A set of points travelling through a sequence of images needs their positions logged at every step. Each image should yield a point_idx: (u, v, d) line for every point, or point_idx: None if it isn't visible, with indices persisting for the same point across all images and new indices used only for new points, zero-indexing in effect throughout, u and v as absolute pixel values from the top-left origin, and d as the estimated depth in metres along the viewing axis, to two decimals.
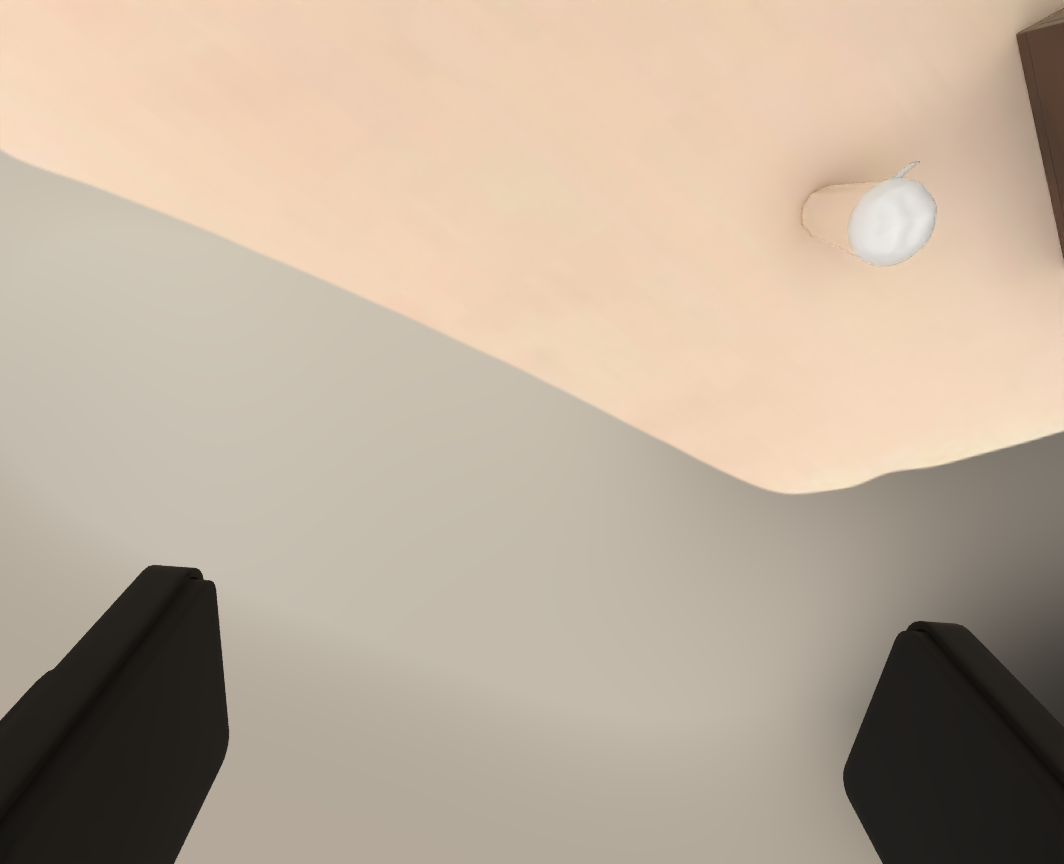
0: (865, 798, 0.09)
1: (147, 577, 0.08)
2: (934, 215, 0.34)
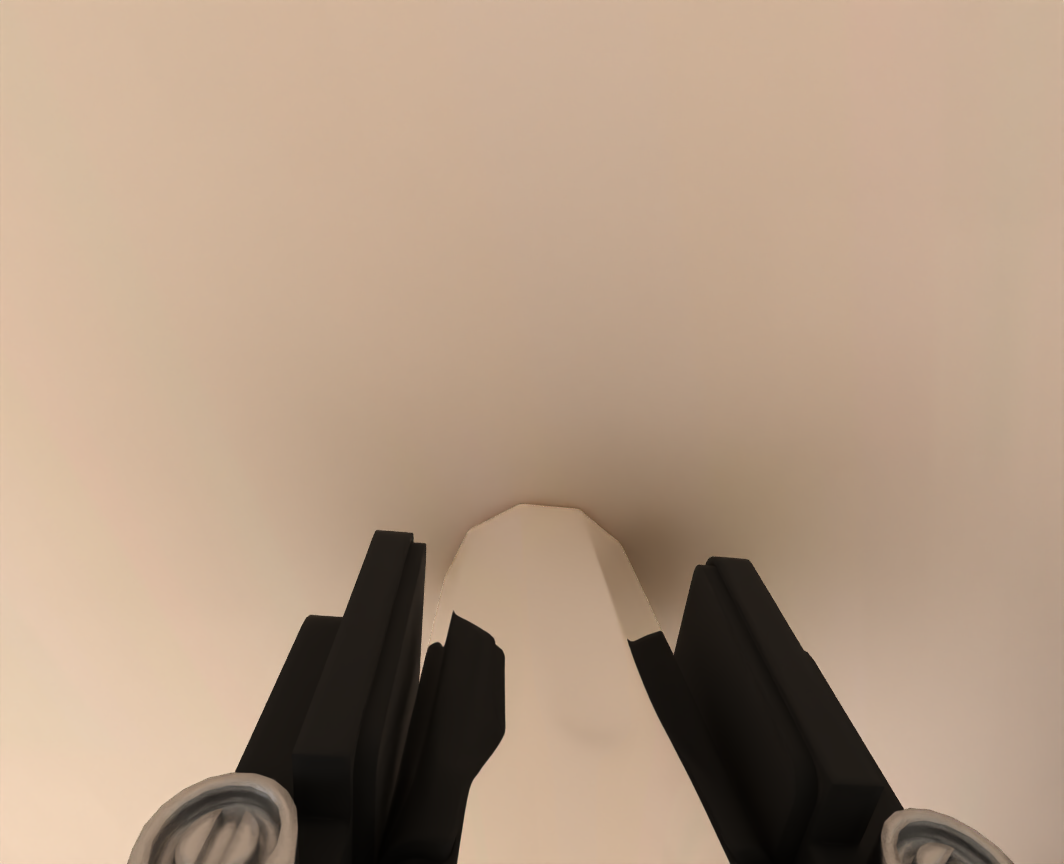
0: None
1: (380, 539, 0.09)
2: None
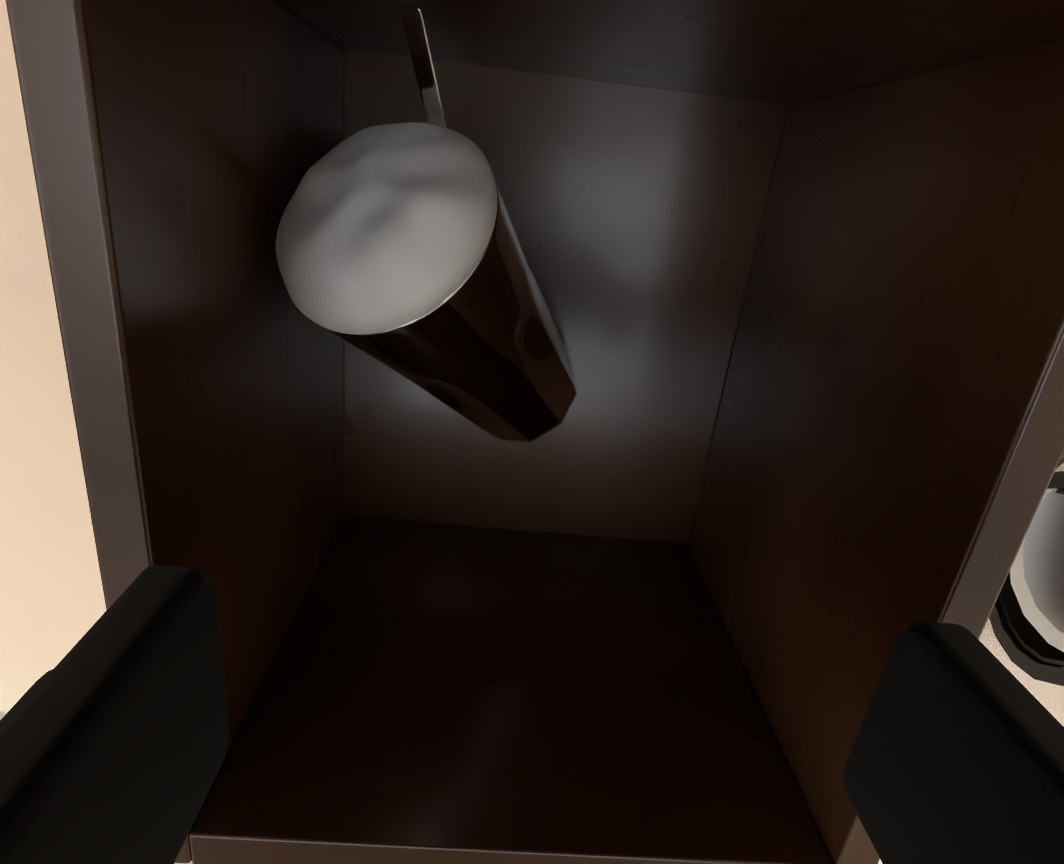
0: (865, 798, 0.09)
1: (147, 577, 0.08)
2: (441, 207, 0.11)
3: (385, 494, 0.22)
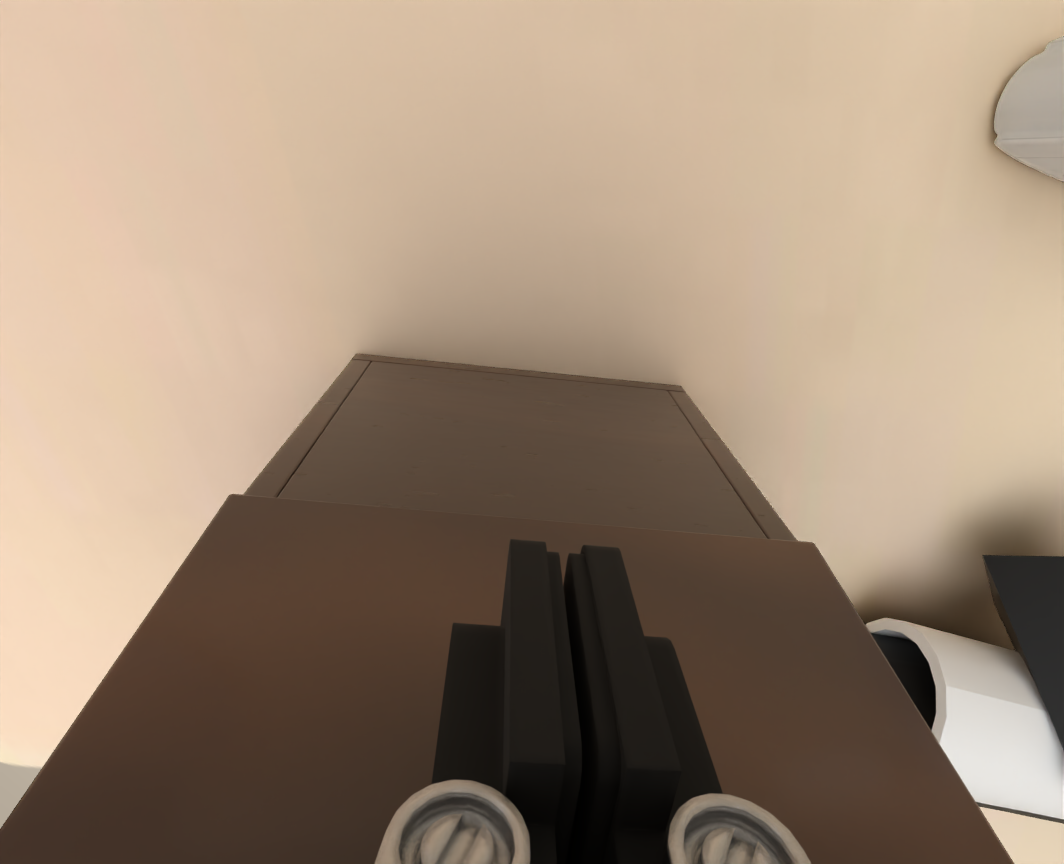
0: None
1: (518, 548, 0.09)
2: None
3: None
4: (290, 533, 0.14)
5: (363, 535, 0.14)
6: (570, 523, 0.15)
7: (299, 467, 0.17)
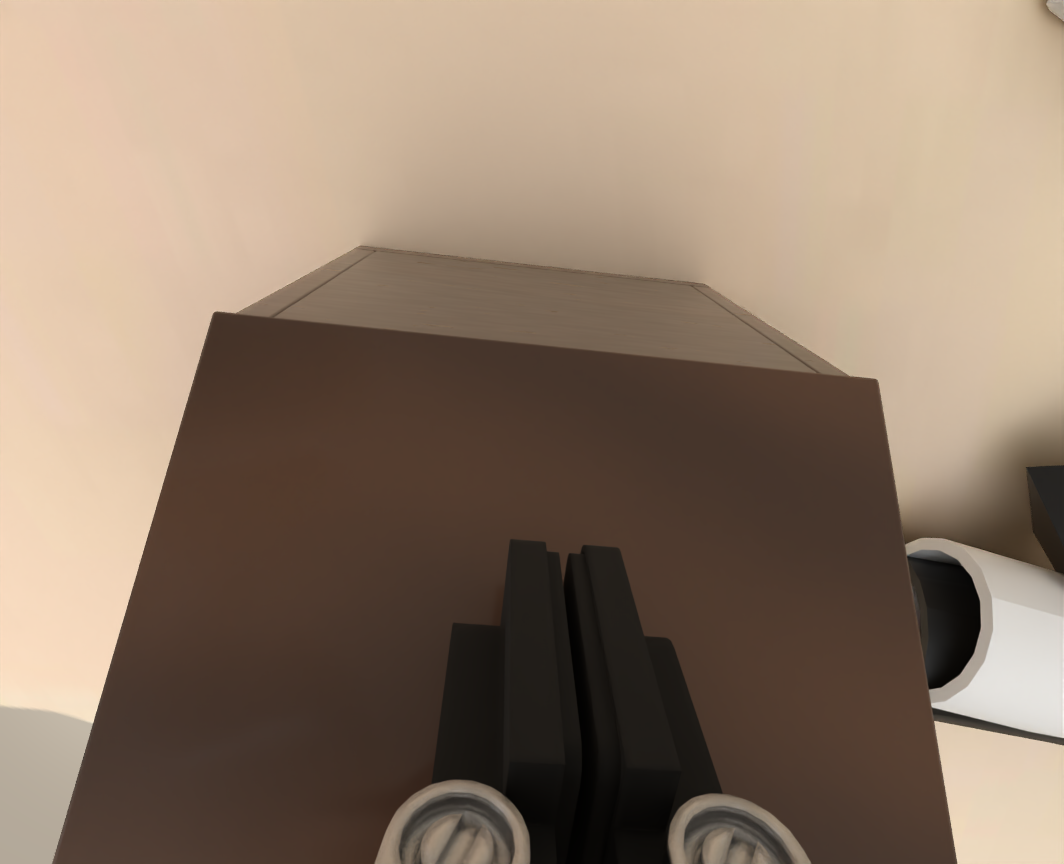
0: None
1: (517, 548, 0.09)
2: None
3: None
4: (289, 375, 0.12)
5: (369, 377, 0.12)
6: (601, 354, 0.13)
7: (296, 303, 0.15)
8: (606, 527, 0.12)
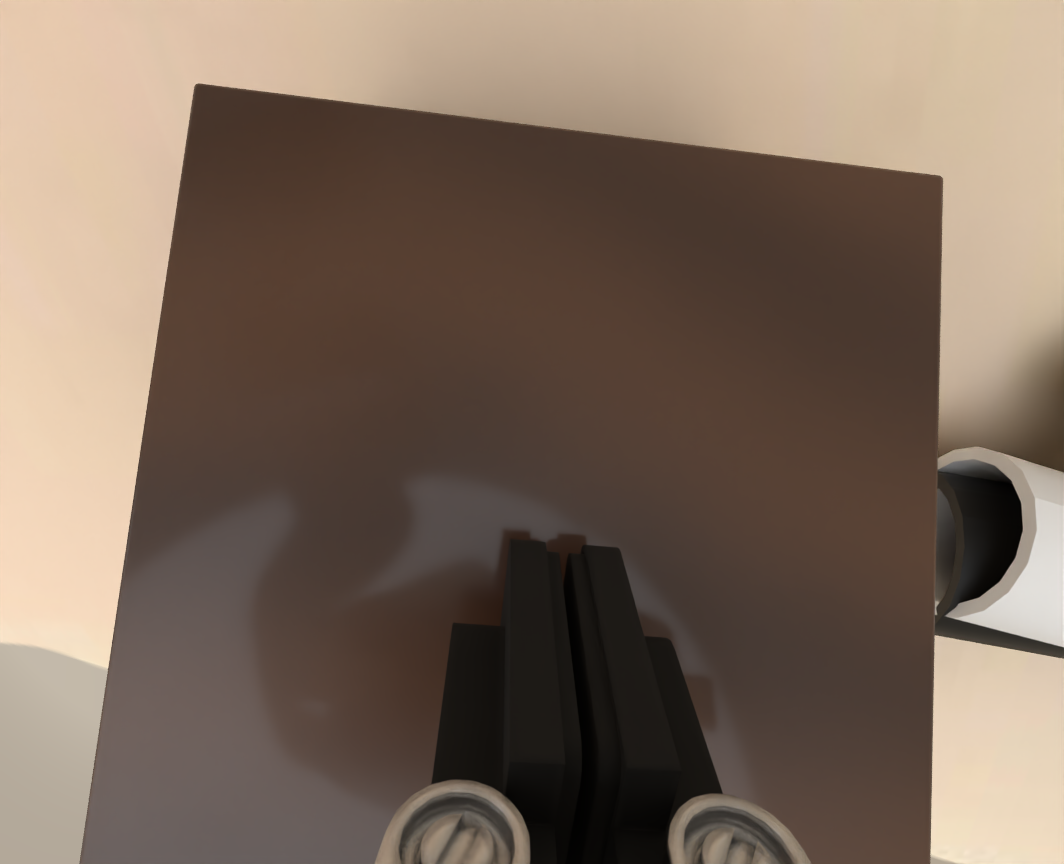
0: None
1: (518, 548, 0.09)
2: None
3: None
4: (286, 162, 0.11)
5: (375, 165, 0.11)
6: (633, 141, 0.12)
7: None
8: (628, 336, 0.11)
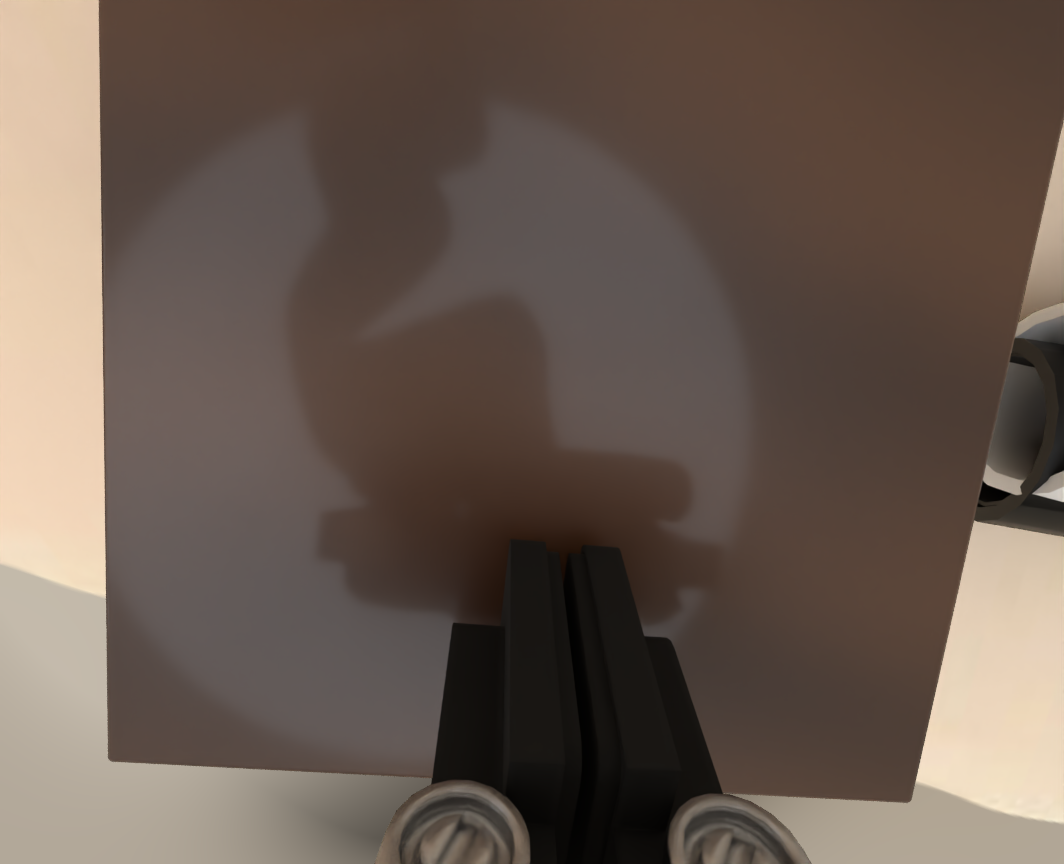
0: None
1: (518, 548, 0.09)
2: None
3: None
4: None
5: None
6: None
7: None
8: None
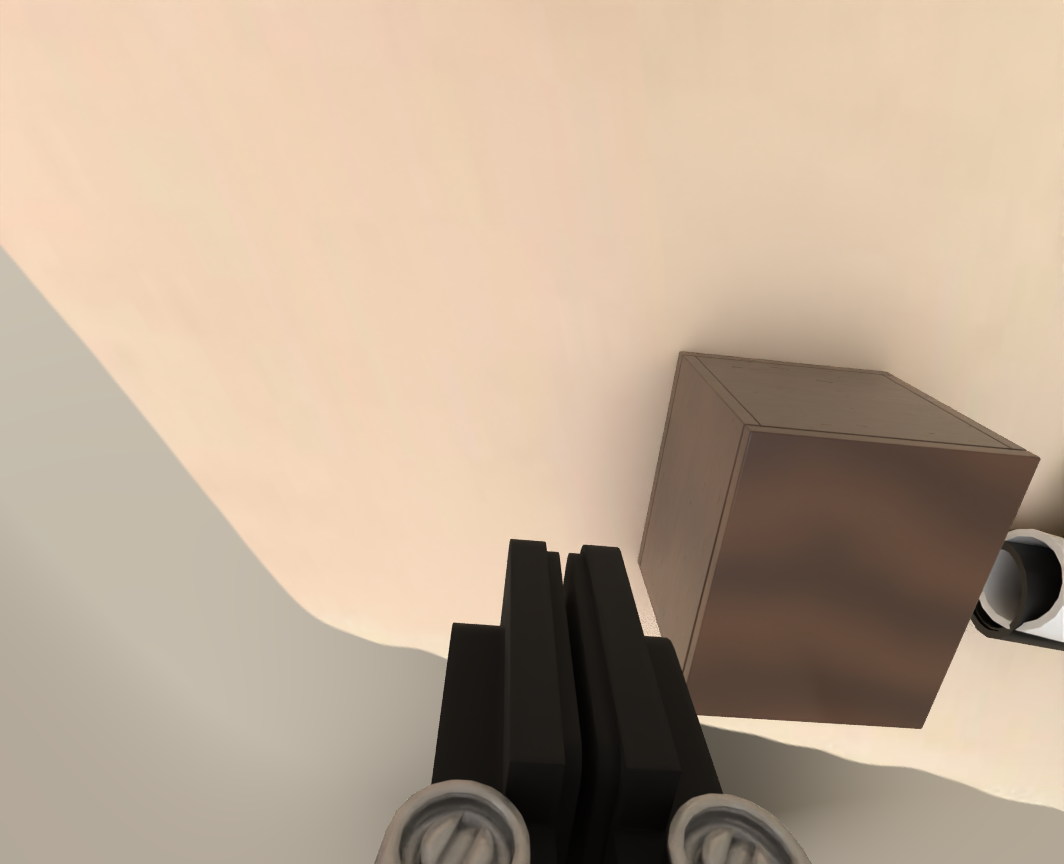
0: None
1: (518, 548, 0.09)
2: None
3: None
4: (781, 460, 0.29)
5: (814, 460, 0.29)
6: (917, 448, 0.29)
7: (749, 411, 0.31)
8: (895, 518, 0.30)
